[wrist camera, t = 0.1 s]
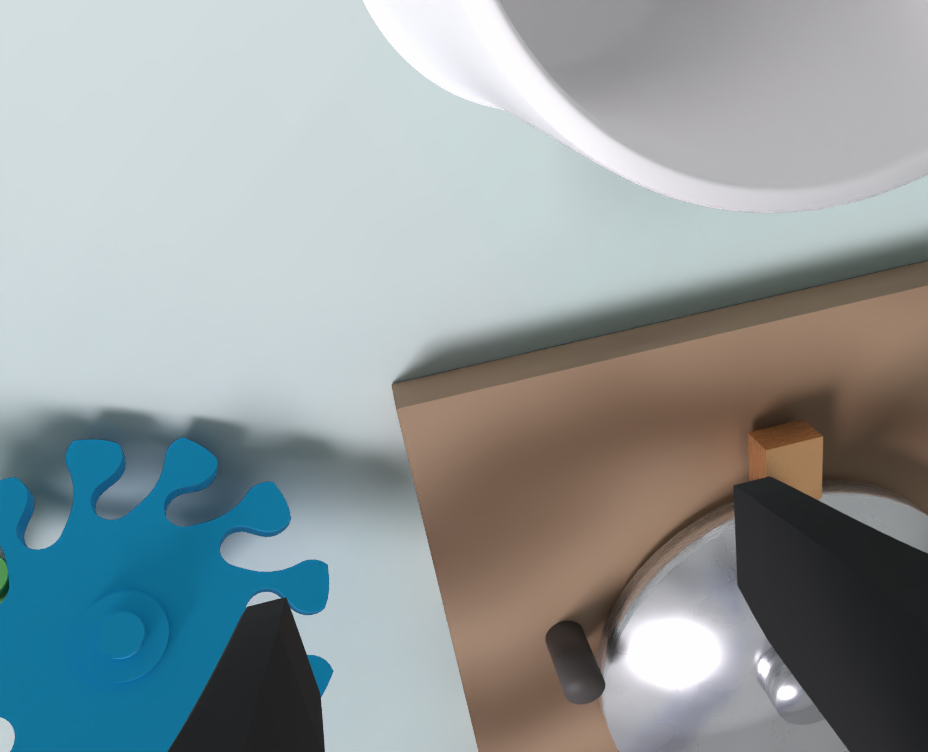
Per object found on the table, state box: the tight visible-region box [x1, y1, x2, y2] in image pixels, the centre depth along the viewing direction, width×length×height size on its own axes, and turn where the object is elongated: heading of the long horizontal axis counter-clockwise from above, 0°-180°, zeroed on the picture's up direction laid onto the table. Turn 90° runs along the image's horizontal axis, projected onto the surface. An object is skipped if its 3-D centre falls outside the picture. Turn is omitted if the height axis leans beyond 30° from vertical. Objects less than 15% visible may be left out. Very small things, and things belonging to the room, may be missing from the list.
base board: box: [392, 261, 928, 752], centre depth 26 cm, size 22×20×4 cm
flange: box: [596, 419, 928, 752], centre depth 23 cm, size 14×12×6 cm
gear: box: [0, 437, 333, 752], centre depth 21 cm, size 11×6×10 cm
